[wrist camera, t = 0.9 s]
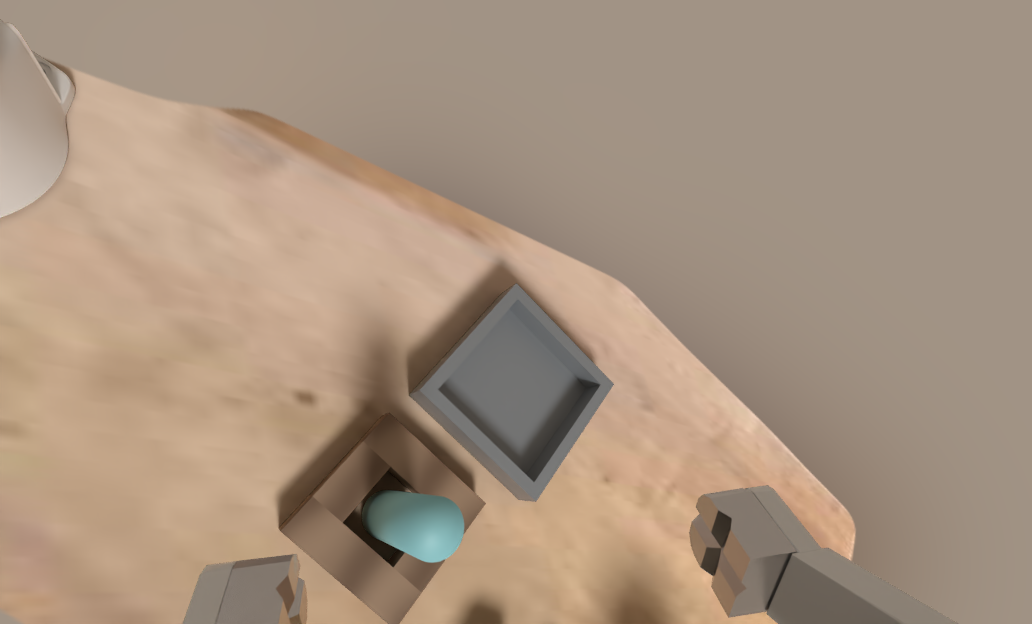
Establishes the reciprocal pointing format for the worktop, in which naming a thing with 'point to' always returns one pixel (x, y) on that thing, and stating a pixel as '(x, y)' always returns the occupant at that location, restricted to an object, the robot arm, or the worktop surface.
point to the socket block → (339, 495)
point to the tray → (515, 393)
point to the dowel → (415, 523)
